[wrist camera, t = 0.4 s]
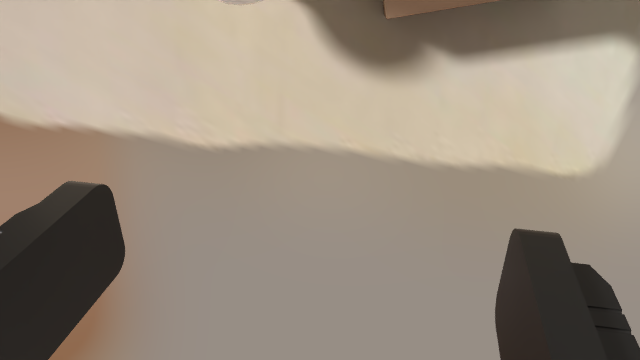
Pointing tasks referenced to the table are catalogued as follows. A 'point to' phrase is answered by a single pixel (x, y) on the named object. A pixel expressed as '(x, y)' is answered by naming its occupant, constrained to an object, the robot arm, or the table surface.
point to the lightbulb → (240, 1)
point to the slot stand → (423, 6)
